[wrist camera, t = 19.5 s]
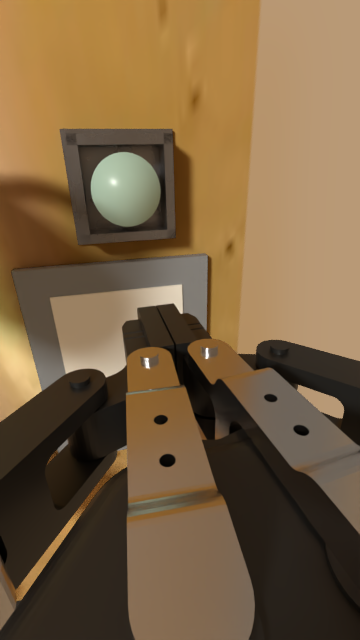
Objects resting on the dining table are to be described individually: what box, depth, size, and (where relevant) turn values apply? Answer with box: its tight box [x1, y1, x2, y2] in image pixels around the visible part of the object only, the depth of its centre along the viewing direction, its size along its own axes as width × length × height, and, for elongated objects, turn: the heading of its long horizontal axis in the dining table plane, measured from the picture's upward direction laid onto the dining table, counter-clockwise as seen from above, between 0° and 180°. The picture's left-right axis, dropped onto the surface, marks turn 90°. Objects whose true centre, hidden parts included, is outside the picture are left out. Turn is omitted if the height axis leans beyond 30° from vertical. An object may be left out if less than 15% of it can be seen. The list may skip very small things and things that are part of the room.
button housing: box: [60, 129, 176, 245], centre depth 30 cm, size 10×10×3 cm
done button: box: [91, 152, 161, 227], centre depth 29 cm, size 6×6×2 cm
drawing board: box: [11, 254, 208, 453], centre depth 39 cm, size 26×20×1 cm
